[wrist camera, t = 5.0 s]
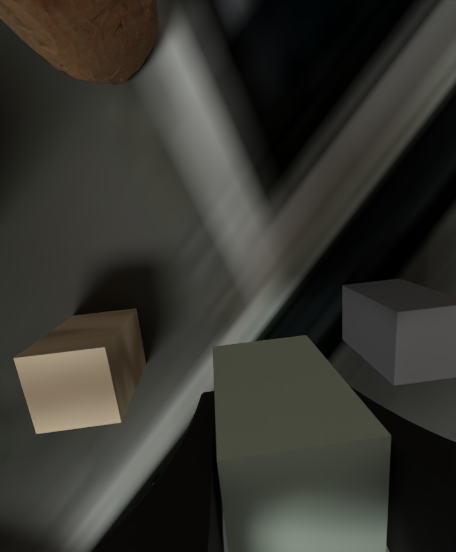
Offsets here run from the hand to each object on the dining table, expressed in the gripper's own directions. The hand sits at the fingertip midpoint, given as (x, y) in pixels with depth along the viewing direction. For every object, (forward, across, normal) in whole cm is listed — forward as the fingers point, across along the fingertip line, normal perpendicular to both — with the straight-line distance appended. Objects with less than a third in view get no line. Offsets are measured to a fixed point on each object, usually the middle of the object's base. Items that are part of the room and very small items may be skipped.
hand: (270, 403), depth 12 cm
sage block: (+2, 0, 0) cm, 2 cm away
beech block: (+9, +10, 0) cm, 13 cm away
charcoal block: (+9, -10, 0) cm, 13 cm away
